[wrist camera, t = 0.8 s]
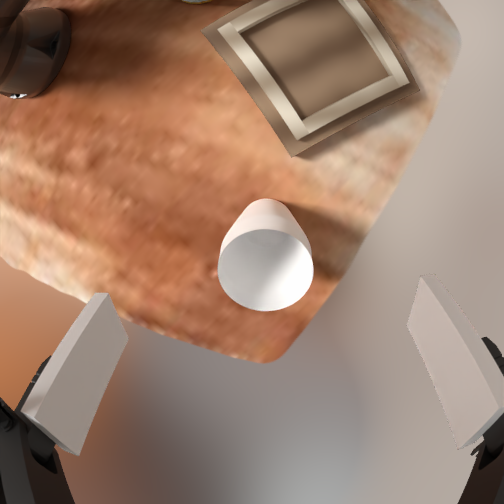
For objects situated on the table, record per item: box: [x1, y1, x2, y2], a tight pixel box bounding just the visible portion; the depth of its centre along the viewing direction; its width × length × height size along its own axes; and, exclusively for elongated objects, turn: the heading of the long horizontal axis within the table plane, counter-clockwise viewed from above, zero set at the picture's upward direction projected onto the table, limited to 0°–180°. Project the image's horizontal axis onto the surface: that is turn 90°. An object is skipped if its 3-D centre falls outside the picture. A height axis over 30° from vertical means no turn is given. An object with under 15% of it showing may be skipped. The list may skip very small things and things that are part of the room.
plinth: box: [200, 0, 420, 158], centre depth 25 cm, size 18×18×4 cm
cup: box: [218, 199, 313, 311], centre depth 31 cm, size 9×9×12 cm
